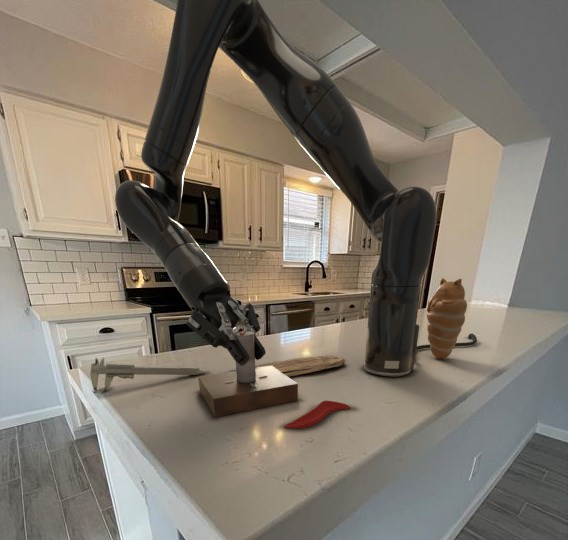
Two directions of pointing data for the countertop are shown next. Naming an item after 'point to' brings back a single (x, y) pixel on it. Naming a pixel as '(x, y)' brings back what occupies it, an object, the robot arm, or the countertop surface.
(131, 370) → the caliper
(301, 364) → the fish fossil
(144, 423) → the countertop surface
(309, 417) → the cayenne pepper
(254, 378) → the rod
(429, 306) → the cat bread figurine
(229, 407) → the rod block
